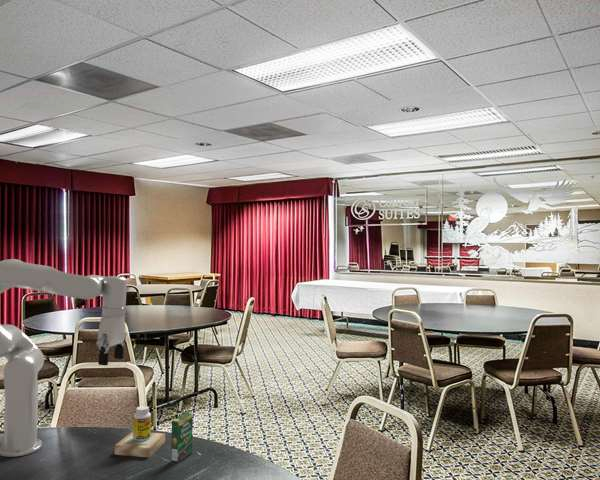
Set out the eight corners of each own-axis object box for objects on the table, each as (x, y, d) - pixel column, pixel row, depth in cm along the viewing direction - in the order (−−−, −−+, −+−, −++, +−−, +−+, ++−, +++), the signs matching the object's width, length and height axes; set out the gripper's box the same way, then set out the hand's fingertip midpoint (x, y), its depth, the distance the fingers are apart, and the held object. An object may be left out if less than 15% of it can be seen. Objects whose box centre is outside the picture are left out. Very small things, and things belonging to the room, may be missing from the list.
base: (114, 454, 157) (114, 444, 157) (132, 439, 169) (132, 430, 169) (149, 457, 155) (149, 447, 155) (165, 442, 167) (165, 433, 167)
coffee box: (177, 463, 151) (178, 421, 151) (170, 461, 152) (171, 420, 153) (192, 453, 159) (193, 413, 159) (185, 451, 160) (186, 412, 160)
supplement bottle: (135, 443, 158) (136, 411, 158) (130, 437, 163) (131, 406, 163) (152, 439, 161) (153, 408, 161) (147, 434, 166) (148, 404, 166)
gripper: (117, 308, 177) (114, 355, 176) (89, 314, 160) (86, 366, 159) (136, 309, 175) (133, 357, 175) (110, 316, 158) (107, 368, 158)
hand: (111, 361), depth 167 cm, fingers open, 9 cm apart
